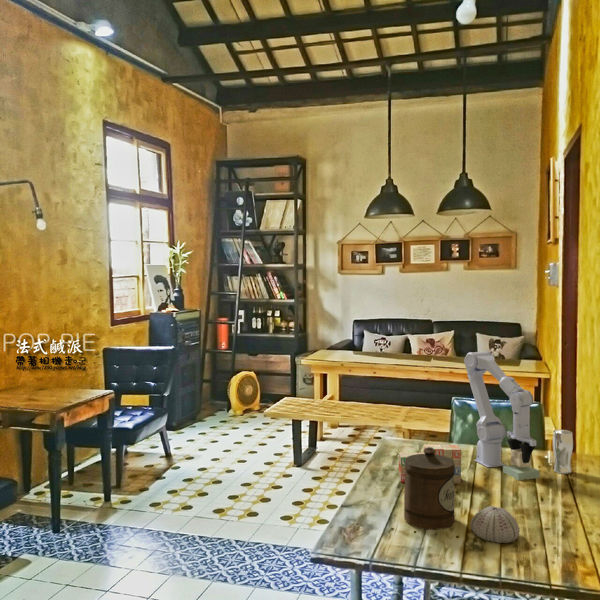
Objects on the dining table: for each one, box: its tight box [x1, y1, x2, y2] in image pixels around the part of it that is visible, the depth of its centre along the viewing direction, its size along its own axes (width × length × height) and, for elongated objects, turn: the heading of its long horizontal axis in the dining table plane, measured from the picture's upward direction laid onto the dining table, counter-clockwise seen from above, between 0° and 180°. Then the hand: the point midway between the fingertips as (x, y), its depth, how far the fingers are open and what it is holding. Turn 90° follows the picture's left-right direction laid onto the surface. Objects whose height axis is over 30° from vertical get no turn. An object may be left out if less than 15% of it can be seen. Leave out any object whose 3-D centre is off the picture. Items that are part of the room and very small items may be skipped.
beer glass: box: [552, 429, 574, 475], centre depth 230 cm, size 7×7×15 cm
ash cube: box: [510, 448, 532, 467], centre depth 226 cm, size 5×5×5 cm
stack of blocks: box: [398, 444, 462, 484], centre depth 221 cm, size 21×6×12 cm, turn 87°
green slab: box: [502, 464, 540, 481], centre depth 226 cm, size 9×9×3 cm
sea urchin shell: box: [469, 505, 521, 544], centre depth 173 cm, size 13×14×8 cm
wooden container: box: [403, 447, 456, 530], centre depth 184 cm, size 15×15×22 cm
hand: (521, 460), depth 226 cm, fingers closed on ash cube, 5 cm apart
